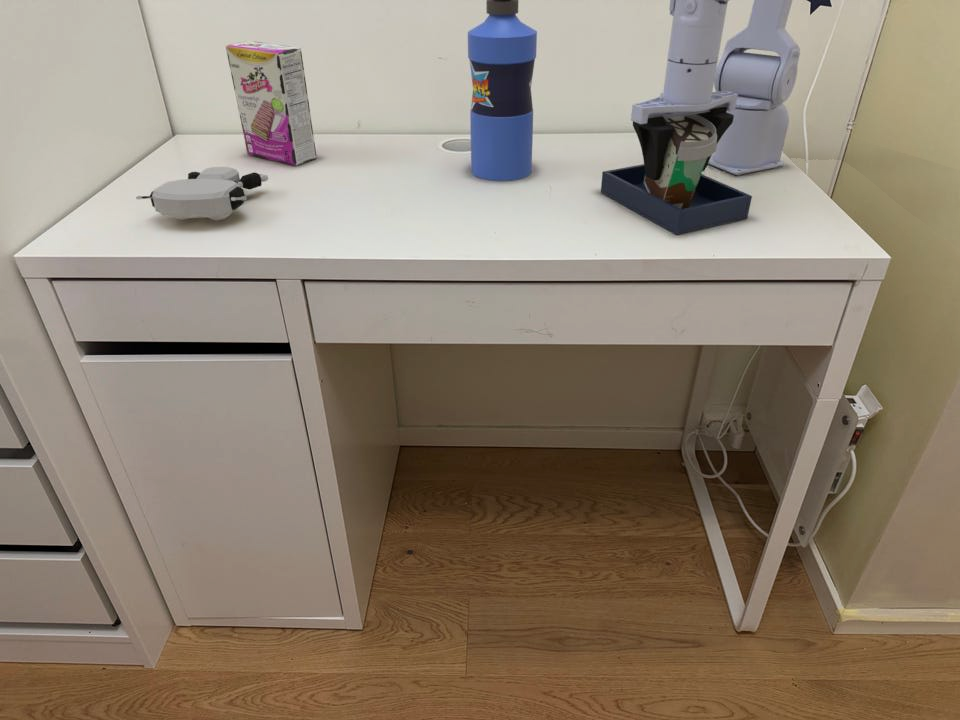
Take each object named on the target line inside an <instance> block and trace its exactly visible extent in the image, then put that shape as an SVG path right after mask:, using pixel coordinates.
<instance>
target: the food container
mask: <svg viewBox="0 0 960 720" xmlns="http://www.w3.org/2000/svg"><path fill="white" fill-rule="evenodd" d="M664 122H666V126H669V127H672V128H674V132H673V134H672V136H671V138H670V140H669V143H668V146H667V149H666V152H665V156H664V162H663V168H662V173H661V176H660V179H659V180H653V179H650V178H648V177H646V176H645V177H644V182H643V183H644V185H645V187H646V189H647V192H648V193H650V194H652V195H654V196H656V197H658V198H660V199H662V200H664V201H666V202H668V203H670V204H672V205H674V206H675V207H677V208H679V209H685V208H689V205H690V203H691V200H692V197H693V195H694V192H695V189H696V187H697V184H698V181H699V179H700V176H701V174H702V173H703V172H704V171H703V168H704V165H705V163H706V160H707V157H709V156H711V155H714V153H715V151H716V146H717V134H716V128H715V126H714V125H713V124H712V123H711V122H710V121H708V120H707V119H705V118H703V117H701V116H699V115H696V114H692V115H686V116H679V117H673V118H666V119H664Z"/></svg>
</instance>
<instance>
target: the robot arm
mask: <svg viewBox="0 0 960 720" xmlns="http://www.w3.org/2000/svg"><path fill="white" fill-rule="evenodd" d="M729 1H730V0H669V8H668V10H669V15H670V16H672V22H671V29H670V36H669V46H668V53H667V61H666V67H665V75H664V82H663V83H664V84H663V91H662V92H661V93H660V94H659V96H658V97H655V98H651V99H648V100H645V101H642V102H637V103H633V104H632V107H631V116H630V121H631V122H632V127H633V130H634V131H635V133H636V137H637V139H638V142H639V145H640V148H641V153H642V154H641V155H642V159H643V164H644V167H645V176H646V177H648V178H650V179H653V180H659V179H660V176H661V173H662V168H663V162H664V156H665V152H666V149H667V146H668V143H669V140H670V138H671V136H672V134H673V132H674V128H672V127H669V126H666V122H664V119H666V118H673V117H679V116H686V115H692V114H696V115H699V116H701V117H703V118H705V119H707V120H708V121H710V122H711V123H712V124H713V125H714V126H715V128H716V134H717V146H716V151H715V152H714V154H712V155H711V156H709V157H707V160H706V163H705V165H704V168H703V171H702V172H705V171H706V168H707V166H708V165H710V166H713V167H716V168H718V169H720V170H723V171H725V172H727V173H731V174H733V175H736V176H739V175H743V174H745V175H746V174H750V173H755V172H758V171H763V170H770V169H774V168H779V167H784V166H785V162H784V161H781V159H782V154H783V149H784V147H785V146H784V145H785V141H786V137H787V132H788V128H789V123H790V116H789V115H790V114H789V111H788V109H787V107H786V105H785V104H784V103H785V102H787V100H788V99H789V98H790V97H791V94H792V92H793V90H794V88H795V84H796V82H797V81H796V80H797V76H798V66H799V65H798V64H799V60H800V56H801V48H800V46H799V44H798V42H796V40H795V39H794V38H793V36H791V34H789V32H788V31H787V30H786V27H787V22H788V19H789V14H790V12H791V7H792V3H793V0H753V3H752V8H751V11H750V16H749V19H748V23H747V26H746V27H745V28H744V29H743V30H741V31H739V32H738V33H736V34H735V35H733V36H732V37H730V38H729V39H728V40H727V41H726V43H725V45H724V49H723V52H722V55H721V58H720V59H719V55H720V51H721V43H722V38H723V31H724V27H725V19H726V14H727V8H728V3H729ZM748 50H757V51H765V52H773V53H776V54H777V55H770V54H761V53H754V52H747V51H748ZM718 61H719V62H718ZM714 90H715V91H714Z"/></svg>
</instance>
